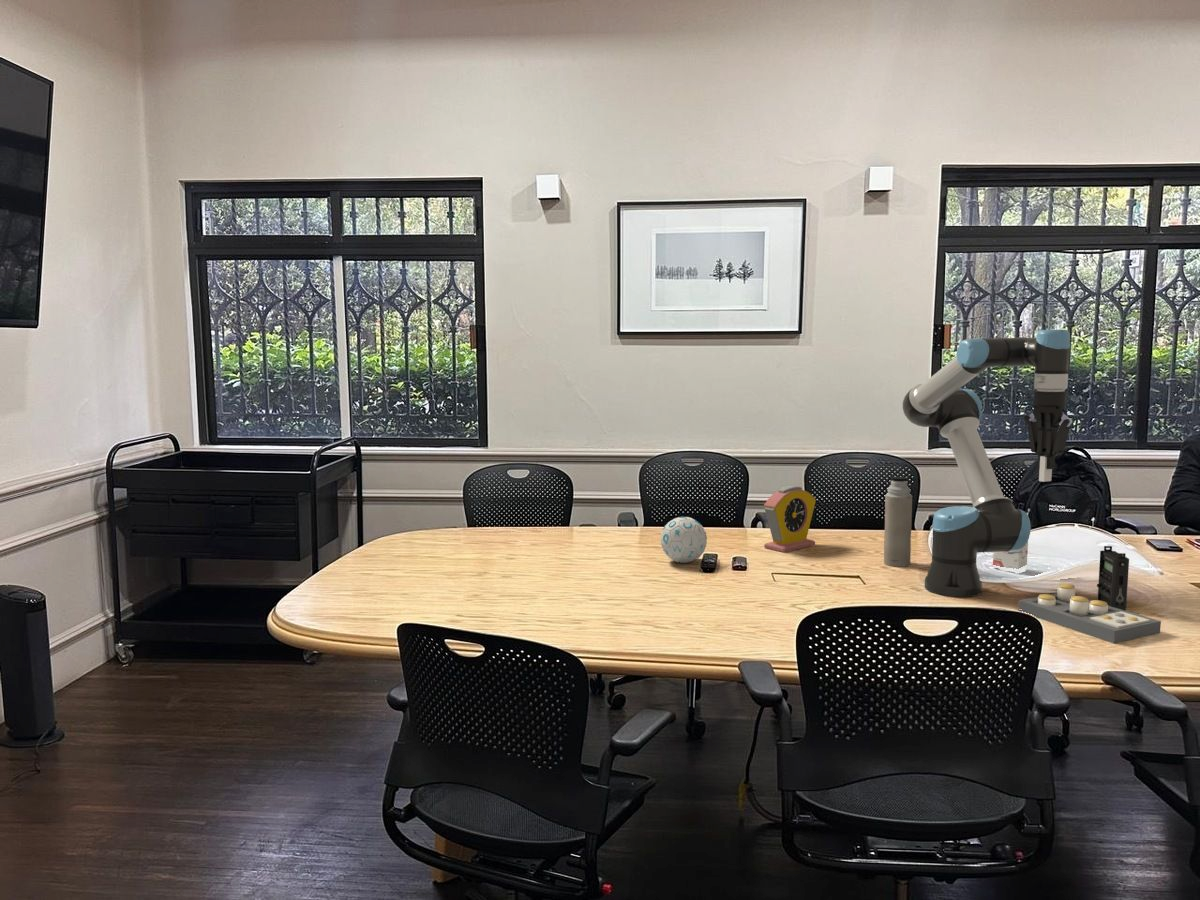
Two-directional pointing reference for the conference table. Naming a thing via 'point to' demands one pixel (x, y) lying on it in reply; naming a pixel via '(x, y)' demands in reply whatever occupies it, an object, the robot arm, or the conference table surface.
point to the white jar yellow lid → (1079, 606)
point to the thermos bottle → (898, 523)
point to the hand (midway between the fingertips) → (1045, 480)
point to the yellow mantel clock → (789, 518)
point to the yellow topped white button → (1098, 606)
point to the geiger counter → (1113, 578)
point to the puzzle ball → (683, 539)
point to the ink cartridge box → (1011, 558)
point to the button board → (1095, 621)
